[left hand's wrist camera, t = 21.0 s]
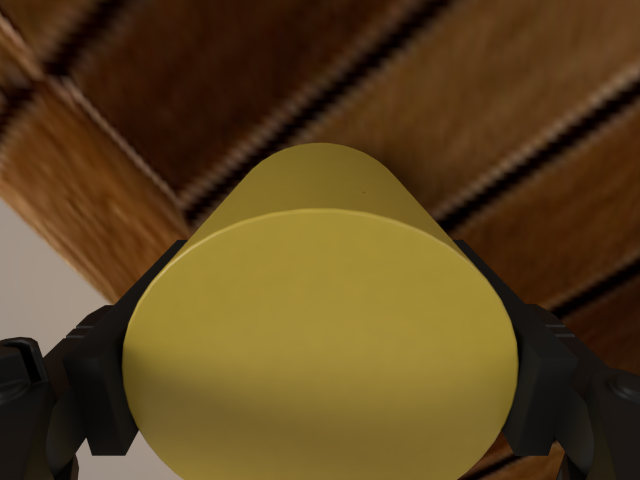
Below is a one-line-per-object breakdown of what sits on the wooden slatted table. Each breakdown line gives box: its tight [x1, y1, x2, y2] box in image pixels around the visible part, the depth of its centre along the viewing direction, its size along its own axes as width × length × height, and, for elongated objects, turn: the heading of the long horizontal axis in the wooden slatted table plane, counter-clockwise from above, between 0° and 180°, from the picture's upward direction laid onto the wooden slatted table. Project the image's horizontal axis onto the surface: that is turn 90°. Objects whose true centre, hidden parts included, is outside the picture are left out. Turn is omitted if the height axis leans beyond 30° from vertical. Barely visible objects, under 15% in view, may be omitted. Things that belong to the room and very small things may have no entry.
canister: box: [122, 143, 519, 480], centre depth 13 cm, size 9×9×10 cm
